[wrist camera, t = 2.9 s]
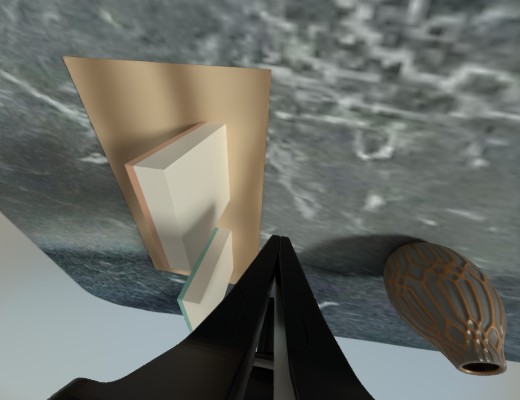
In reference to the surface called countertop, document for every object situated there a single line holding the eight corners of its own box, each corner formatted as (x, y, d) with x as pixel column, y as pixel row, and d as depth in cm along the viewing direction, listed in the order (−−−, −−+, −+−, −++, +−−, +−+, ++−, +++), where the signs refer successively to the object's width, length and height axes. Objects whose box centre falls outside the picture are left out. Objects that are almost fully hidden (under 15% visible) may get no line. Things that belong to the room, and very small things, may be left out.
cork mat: (271, 69, 12) (270, 69, 12) (256, 285, 27) (255, 288, 26) (68, 56, 14) (62, 56, 14) (157, 266, 28) (155, 268, 28)
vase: (372, 235, 18) (418, 341, 11) (464, 225, 16) (593, 349, 9) (375, 278, 22) (412, 381, 15) (451, 275, 19) (538, 394, 12)
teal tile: (231, 229, 21) (199, 303, 14) (233, 268, 25) (209, 340, 18) (215, 227, 21) (176, 299, 14) (219, 266, 25) (191, 336, 18)
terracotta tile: (225, 123, 14) (163, 170, 8) (229, 199, 18) (191, 271, 12) (202, 121, 14) (124, 164, 8) (211, 197, 18) (164, 266, 12)
